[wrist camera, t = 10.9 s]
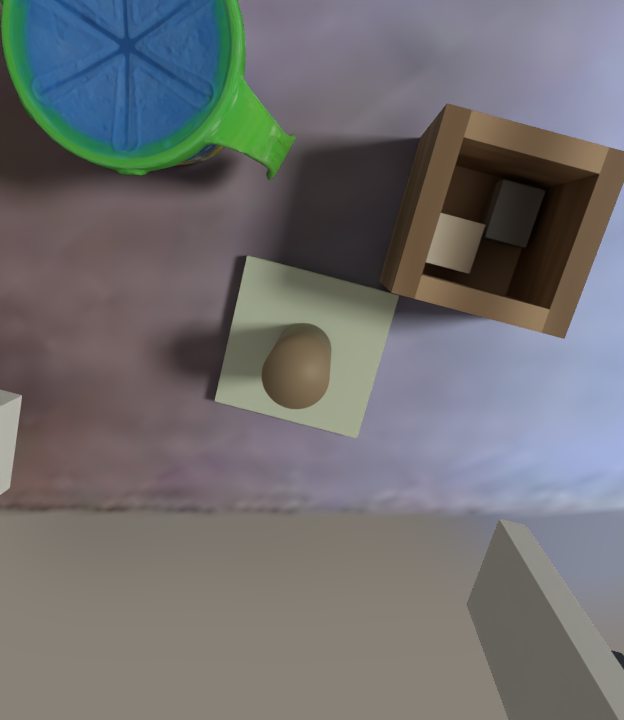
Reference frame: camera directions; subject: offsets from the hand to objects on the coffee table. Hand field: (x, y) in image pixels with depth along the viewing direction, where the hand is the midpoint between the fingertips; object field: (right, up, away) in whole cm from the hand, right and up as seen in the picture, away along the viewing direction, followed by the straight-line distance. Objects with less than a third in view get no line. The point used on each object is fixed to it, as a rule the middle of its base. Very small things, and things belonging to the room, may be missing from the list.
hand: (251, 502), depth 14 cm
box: (+11, +12, +19) cm, 25 cm away
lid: (+1, +5, +21) cm, 22 cm away
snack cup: (-6, +20, +18) cm, 28 cm away
